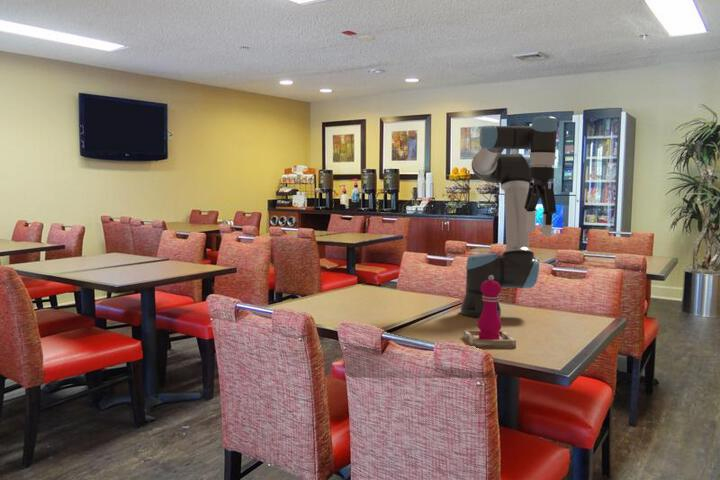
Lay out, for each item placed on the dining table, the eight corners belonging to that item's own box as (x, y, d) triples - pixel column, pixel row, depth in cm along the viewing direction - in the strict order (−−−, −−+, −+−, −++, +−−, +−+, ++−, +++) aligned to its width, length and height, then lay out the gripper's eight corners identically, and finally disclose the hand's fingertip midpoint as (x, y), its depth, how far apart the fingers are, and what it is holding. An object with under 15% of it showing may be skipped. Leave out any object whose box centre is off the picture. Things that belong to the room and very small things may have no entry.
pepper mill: (474, 336, 180) (476, 273, 178) (496, 336, 181) (498, 273, 179) (481, 342, 173) (483, 276, 171) (504, 341, 173) (506, 276, 172)
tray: (463, 336, 183) (463, 330, 183) (503, 337, 183) (503, 330, 183) (472, 347, 170) (473, 340, 170) (515, 347, 171) (516, 340, 170)
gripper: (570, 166, 168) (566, 237, 170) (538, 167, 193) (534, 229, 195) (546, 165, 168) (541, 237, 170) (516, 166, 192) (513, 229, 195)
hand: (538, 233), depth 183 cm, fingers open, 13 cm apart
